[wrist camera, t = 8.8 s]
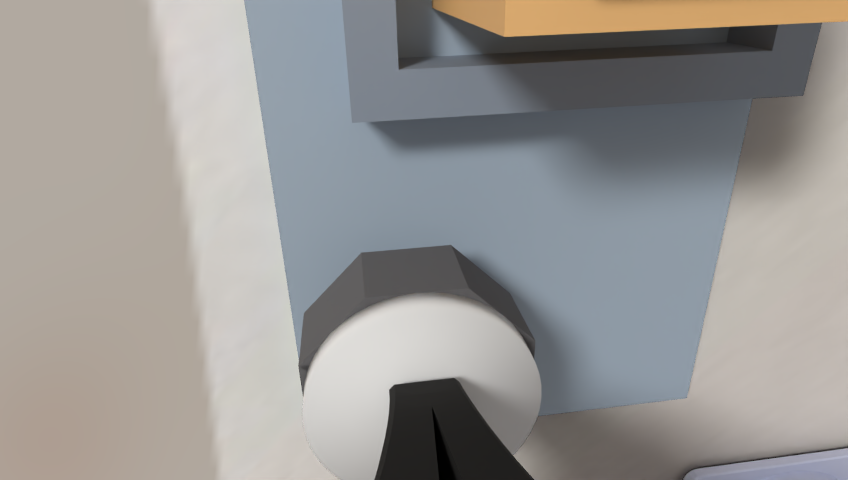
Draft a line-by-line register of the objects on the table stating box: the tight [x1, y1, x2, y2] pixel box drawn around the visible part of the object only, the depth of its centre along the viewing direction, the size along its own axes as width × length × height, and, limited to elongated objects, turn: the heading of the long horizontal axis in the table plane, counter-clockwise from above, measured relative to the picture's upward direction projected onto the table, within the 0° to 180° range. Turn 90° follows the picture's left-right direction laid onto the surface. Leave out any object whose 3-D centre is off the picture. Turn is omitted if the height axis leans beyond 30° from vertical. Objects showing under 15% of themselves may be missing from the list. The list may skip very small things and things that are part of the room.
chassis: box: [244, 0, 822, 416], centre depth 13 cm, size 18×12×3 cm, turn 2°
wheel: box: [299, 245, 541, 480], centre depth 13 cm, size 5×5×3 cm
